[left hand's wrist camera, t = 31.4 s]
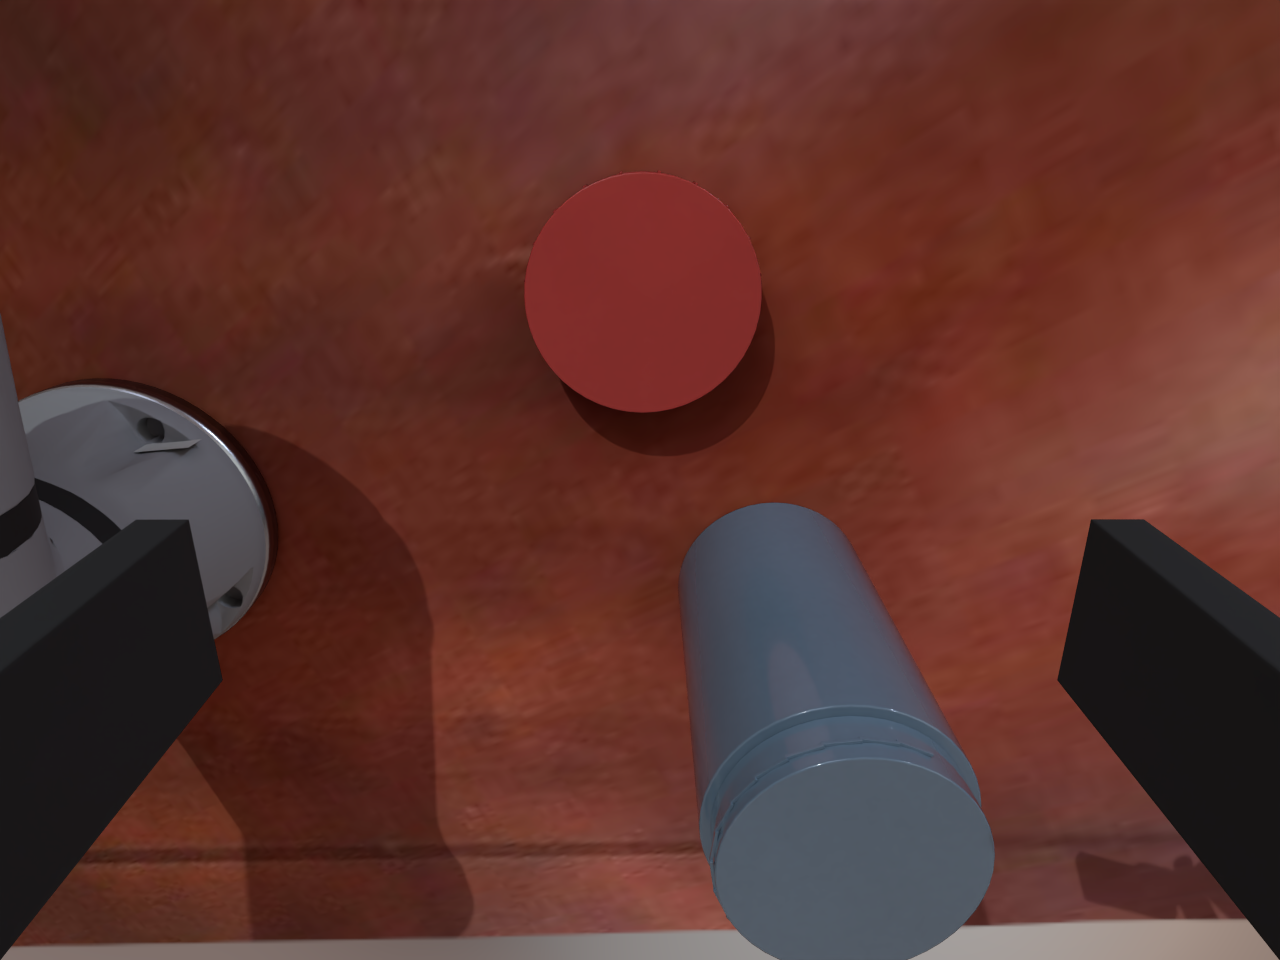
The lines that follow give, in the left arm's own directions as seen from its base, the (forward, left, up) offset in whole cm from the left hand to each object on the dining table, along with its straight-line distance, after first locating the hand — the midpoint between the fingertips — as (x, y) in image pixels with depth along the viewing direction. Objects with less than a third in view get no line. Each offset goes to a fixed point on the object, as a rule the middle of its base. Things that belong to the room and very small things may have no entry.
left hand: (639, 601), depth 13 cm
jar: (+3, -17, -30) cm, 35 cm away
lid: (0, 0, -28) cm, 28 cm away
